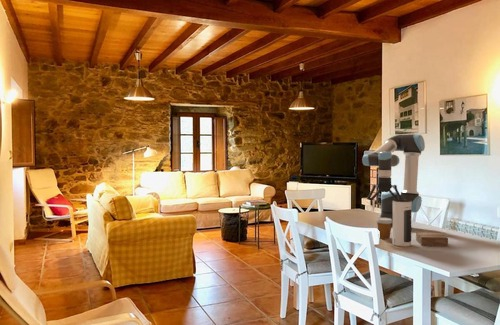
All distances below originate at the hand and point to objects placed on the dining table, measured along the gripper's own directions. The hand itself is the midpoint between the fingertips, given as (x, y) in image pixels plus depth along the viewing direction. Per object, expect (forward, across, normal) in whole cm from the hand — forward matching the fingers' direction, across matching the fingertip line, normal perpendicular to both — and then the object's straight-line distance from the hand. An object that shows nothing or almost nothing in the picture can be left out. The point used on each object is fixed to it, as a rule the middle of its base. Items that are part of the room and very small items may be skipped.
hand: (384, 211), depth 252 cm
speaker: (+17, +8, -15) cm, 24 cm away
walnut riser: (+17, +25, -10) cm, 32 cm away
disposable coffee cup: (+17, 0, 0) cm, 17 cm away
